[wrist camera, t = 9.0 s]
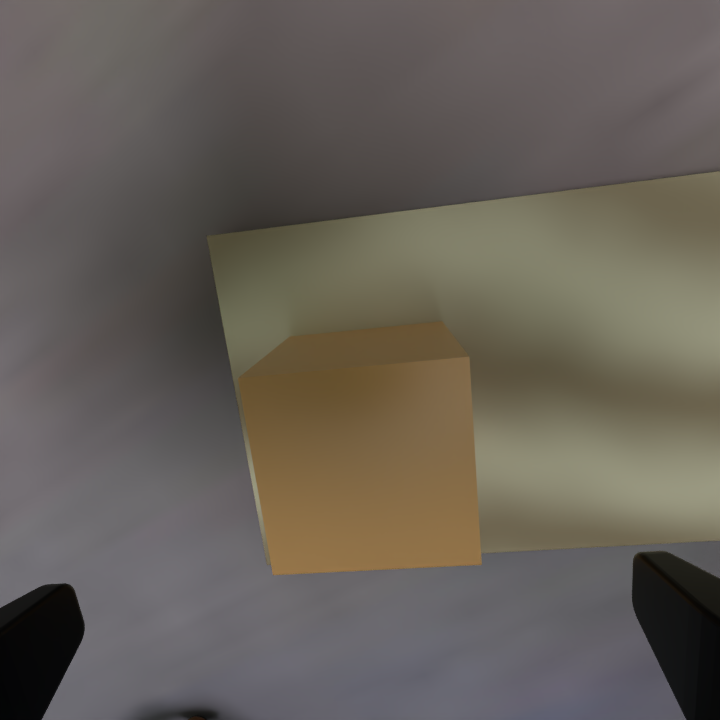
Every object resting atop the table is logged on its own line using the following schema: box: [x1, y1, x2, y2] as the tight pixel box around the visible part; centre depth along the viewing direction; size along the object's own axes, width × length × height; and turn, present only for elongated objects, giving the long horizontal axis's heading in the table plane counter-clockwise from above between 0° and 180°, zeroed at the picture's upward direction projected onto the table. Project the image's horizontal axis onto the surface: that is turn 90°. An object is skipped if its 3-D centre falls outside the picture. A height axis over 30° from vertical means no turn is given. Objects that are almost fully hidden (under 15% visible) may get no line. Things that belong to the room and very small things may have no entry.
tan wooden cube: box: [238, 321, 482, 575], centre depth 14 cm, size 5×5×6 cm
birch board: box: [207, 171, 720, 565], centre depth 16 cm, size 13×20×1 cm, turn 97°
